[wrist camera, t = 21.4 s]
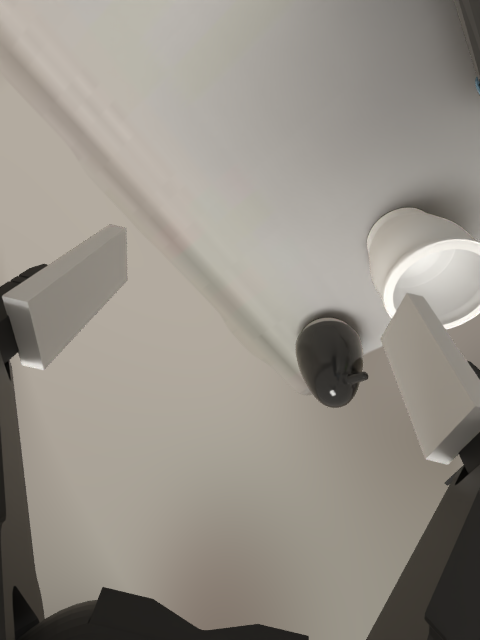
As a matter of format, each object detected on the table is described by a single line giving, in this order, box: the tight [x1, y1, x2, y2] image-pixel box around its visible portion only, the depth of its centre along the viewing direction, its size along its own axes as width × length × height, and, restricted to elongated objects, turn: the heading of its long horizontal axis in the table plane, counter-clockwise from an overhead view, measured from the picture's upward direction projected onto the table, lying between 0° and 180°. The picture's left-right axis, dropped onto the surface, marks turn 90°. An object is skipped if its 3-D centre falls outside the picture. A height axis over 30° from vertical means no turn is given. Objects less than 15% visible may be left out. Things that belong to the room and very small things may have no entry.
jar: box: [367, 208, 480, 329], centre depth 38 cm, size 11×10×15 cm
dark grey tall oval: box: [296, 318, 368, 408], centre depth 48 cm, size 10×10×15 cm
